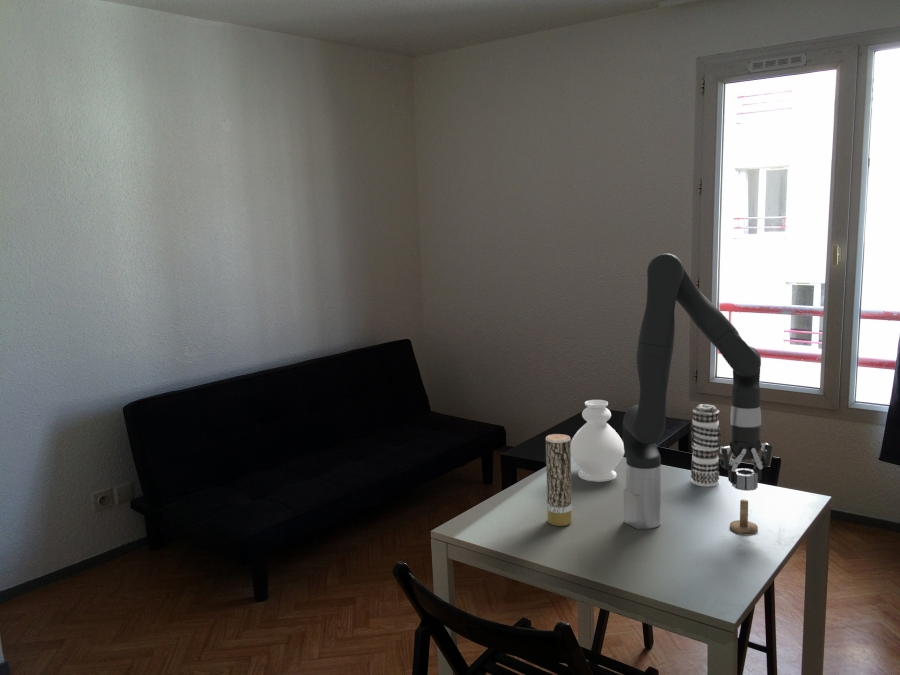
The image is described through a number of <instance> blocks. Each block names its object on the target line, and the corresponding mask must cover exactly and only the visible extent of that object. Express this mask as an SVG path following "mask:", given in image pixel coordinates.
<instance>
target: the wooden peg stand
mask: <svg viewBox="0 0 900 675" xmlns="http://www.w3.org/2000/svg"><path fill="white" fill-rule="evenodd" d="M739 502H740V503H739V520H733V521H731V522H730V523H729V529H730V530H731V532H734V533H736V534H740V535H755V534H756V533H758V529H759V527H758V525H757V524H756V523H754V522H753V521H749V500H748V499H740V500H739Z"/></svg>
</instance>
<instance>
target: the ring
mask: <svg viewBox="0 0 900 675" xmlns="http://www.w3.org/2000/svg"><path fill="white" fill-rule="evenodd" d="M735 471H736V485H733V484H732V483H731V487H733V488H734V489H737V490H741V491H749V492H750V491H755V490H757V489H758V484H759V483H758V473H757V472H756V471H754V470H753V469H751V468H743V467H742V468H740V467H739V468H736V470H735Z"/></svg>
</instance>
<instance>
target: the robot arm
mask: <svg viewBox="0 0 900 675" xmlns="http://www.w3.org/2000/svg"><path fill="white" fill-rule="evenodd" d="M646 273H647V275H646V277H647V284H646V285H647V288H646V291H647V292H646V303H645V304H646V305H645V310H644V313H643V318H642V321H641V325H640V330H639V334H638V340H637V341H638V343H637V349H636V368H637V376H638V383H639V397H638V398H639V399H638V404H634V405H633V406H631V407H629V408H628V409H627V410H626V411H625V414H624V415H623V418H622V419H623V420H622V436H623V437H622V441H623V444H624V456H625V460H626V466H625V467H626V473H625V474H626V476H625V477H626V489H623V522H624V523H625V524H627V525H629V526H631V527H632V528H635V529H637V530H640V529H654V528H657V527H659V526H660V525H661V518H662V517H661V509H662V508H661V507H662V506H661V505H662V503H661V500H662V499H661V495H662V490H661V489H662V488H661V487H662V486H661V484H662V483H661V482H662V481H661V480H662V479H661V478H662V477H661V475H662V473H661V472H662V467H661V466H662V465H661V464H662V463H661V462H662V456H661V454H660V452H659V449H658V447H657V442H658V441H659V440H660V439H661V438H662V437H663V435H664V433H665V430H666V429H665V428H666V413H667V411H666V408H667V392H668V385H669V381H670V380H669V379H670V371H671V366H672V365H671V364H672V359H673V352H674V345H675V333H676V332H675V328H676V324H675V322H676V321H675V310H676V302H677V303H678V304H679V305H680V306H681V308H682V309H684V311H685V312H686V313H687V315H688V316H689V318H690V319H691V320H692V322H693V323H694V324H695V326H696V327H697V328H698V329H699V331H700V332H702V334H703V335H704V336H705V337H706V338H707V340H708V341H709V342H710V343H711V344H712V345H713V346H714V347H715V348H716V349H717V350H718V351H719V353H720V354H721V355H722V358H724V360H725V361H726V363H727V364H728V366H729V367H730V368H731V369H732V382H733V383H732V388H731V407H730V418H729V419H730V423H729V425H730V431H729V432H730V433H729V438H730V443H729V444H728V445H726V446H721V445H720V447H719V449H718V454H719V455H718V456H719V463H720V466H721V467H722V468H723V469H724V470H726V471H728V473H727V476H728V477H727V479H728V482H730V484H731V485H732V484H733V485H736V471H735V470H736V469H738V466H739V465H740V464H741V462H742V461H745V460H751V462H752V464H753V466H754V467H753V469H752V470H754V471H756V472H757V473H758V484H759V483H760V482H761V480H762V479H763V477H762V476H763V474H762V472H763V470H762V469H763V468H765V467H769V466H770V461H771V458H772V457H771V455H772V450H773V446H772V445H771V444H769V443H768V442H764V443H761V439H762V438H761V437H762V434H761V433H762V412H761V411H762V410H761V387H760V378H761V368H762V357H761V354H760V352H759V351H758V350H757V349H756V348H755V347H754V346H750V345H749V344H747V343H746V341H745V340H744V339H743V338H742V337H741V335H740V333H739V332H738V330H737V329H736V327H735V326H734V325H733V324H732V323H731V321H730V320H729V319H728V318H727V317H726V316H725V315H724V314H723V313H722V312H721V311H720V309H718V307H716V306H715V304H713V302H712V301H710V300H709V298H707V297H706V296H705V295H704V294H703V293H702V292H701V289H699V288H698V287H697V285H696V284H695V283H694V281H693V280H692V279H691V277H690V275H689V274H688V272H687V270H686V268H684V264H683V262H682V260H681V259H680V258H679V257H677V255H674V254H672V253H659V254H658V255H656V256H654V257H653V258H652V259H651V260H650V261H649V263H648V265H647V271H646ZM760 450H761V454H760V456H761V457H760V456H759V454H758V453H759V452H760ZM730 452H731V456H730V457H729V454H730Z"/></svg>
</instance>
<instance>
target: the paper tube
mask: <svg viewBox="0 0 900 675" xmlns="http://www.w3.org/2000/svg"><path fill="white" fill-rule="evenodd" d="M570 444H571V436H569V435H568V434H563V433H562V434H561V433H552V434H548V435H546V437H545V465H546V469H545V471H546V499H547V500H546V502H547V503H546V504H547V505H546V506H547V508H546V509H547V522H548V523H549V524H550V525H552V526H555V527H565V526H568V525H570V524H571V523H572V520H573V517H572V516H573V515H572V514H573V511H572V509H573V508H572V505H573V504H572V465H571V464H572V461H571V459H572V458H571V457H572V456H571V451H570Z"/></svg>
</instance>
